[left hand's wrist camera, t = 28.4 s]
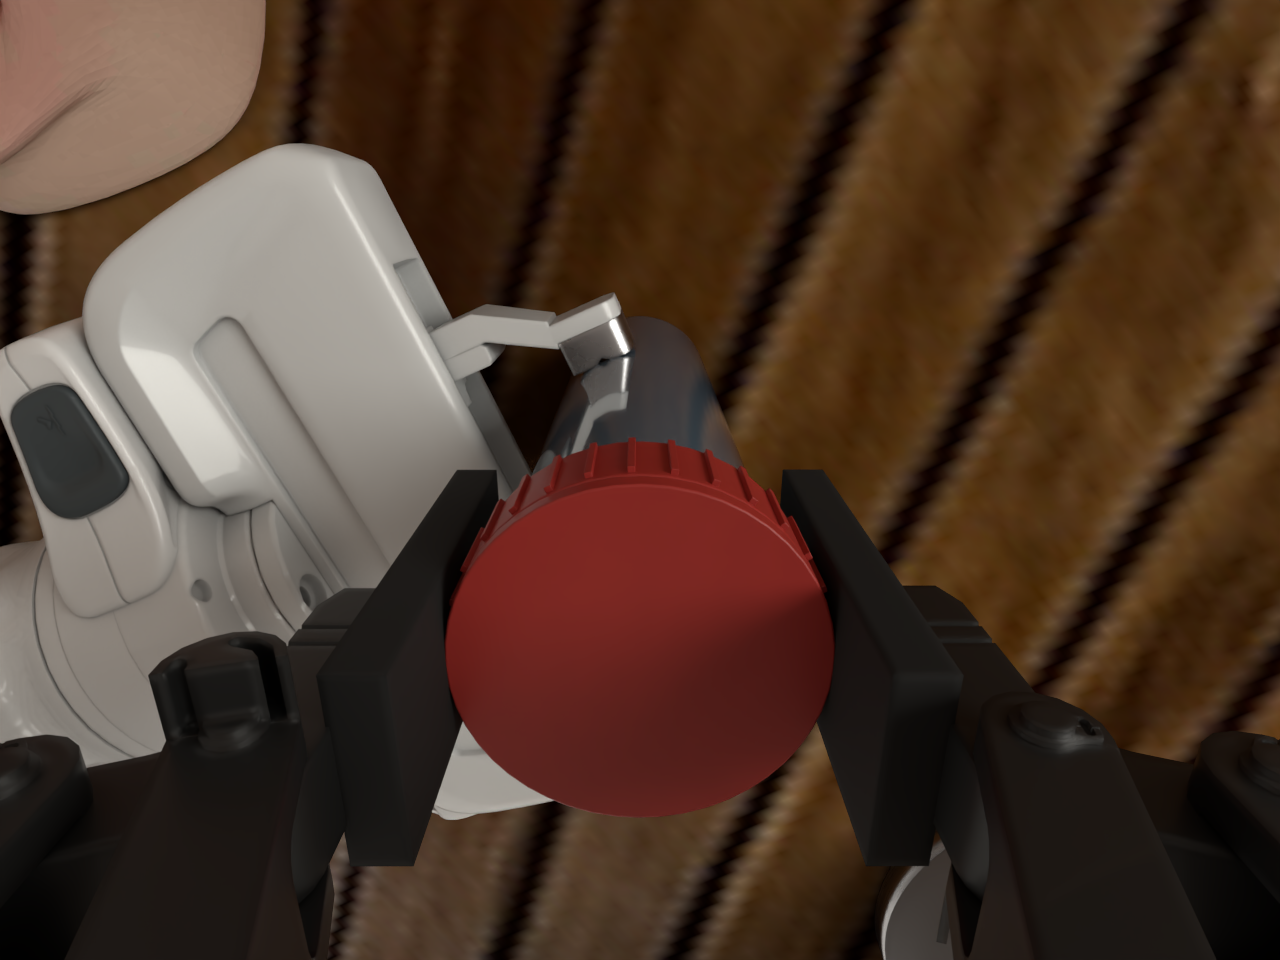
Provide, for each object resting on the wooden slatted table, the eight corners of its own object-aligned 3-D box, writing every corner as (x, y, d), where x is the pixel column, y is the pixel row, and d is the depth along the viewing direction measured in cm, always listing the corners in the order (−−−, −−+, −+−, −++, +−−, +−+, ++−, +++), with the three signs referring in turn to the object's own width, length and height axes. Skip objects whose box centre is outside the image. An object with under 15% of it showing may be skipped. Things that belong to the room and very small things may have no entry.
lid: (776, 395, 11) (803, 432, 9) (836, 702, 13) (867, 781, 11) (417, 483, 11) (377, 534, 10) (527, 767, 13) (510, 853, 12)
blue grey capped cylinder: (731, 383, 27) (856, 625, 11) (638, 468, 28) (636, 792, 13) (641, 287, 26) (643, 412, 10) (547, 380, 27) (422, 619, 11)
